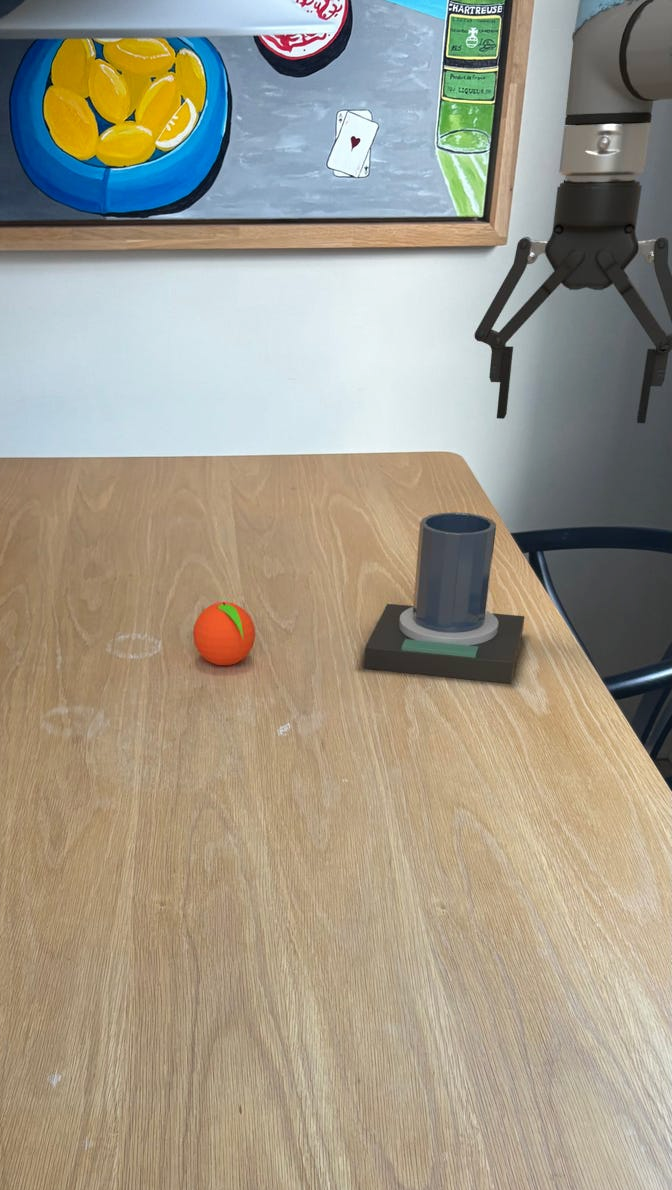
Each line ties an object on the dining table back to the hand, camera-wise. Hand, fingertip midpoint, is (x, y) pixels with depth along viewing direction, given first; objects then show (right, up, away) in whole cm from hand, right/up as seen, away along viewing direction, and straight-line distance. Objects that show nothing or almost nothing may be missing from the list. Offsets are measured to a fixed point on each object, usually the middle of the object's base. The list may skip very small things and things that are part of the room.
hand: (570, 419), depth 124 cm
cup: (-9, -18, +15) cm, 25 cm away
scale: (-9, -21, +16) cm, 28 cm away
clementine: (-34, -23, +14) cm, 44 cm away
